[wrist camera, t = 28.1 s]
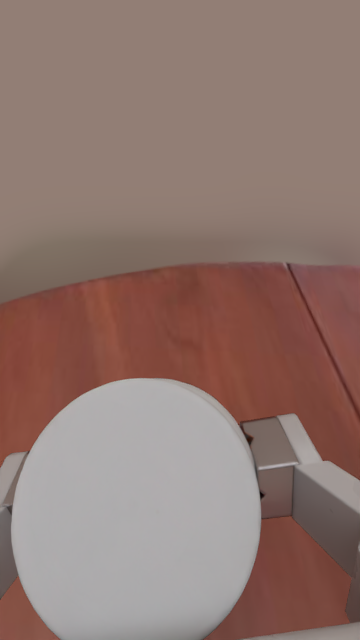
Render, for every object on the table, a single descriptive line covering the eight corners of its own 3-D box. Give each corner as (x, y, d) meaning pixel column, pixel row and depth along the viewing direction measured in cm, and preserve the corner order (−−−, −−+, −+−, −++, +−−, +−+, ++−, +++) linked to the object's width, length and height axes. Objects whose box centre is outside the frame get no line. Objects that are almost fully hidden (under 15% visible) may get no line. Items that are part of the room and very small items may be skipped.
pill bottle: (254, 450, 13) (349, 479, 5) (179, 559, 12) (152, 815, 4) (163, 376, 14) (123, 305, 6) (87, 470, 13) (-78, 529, 5)
